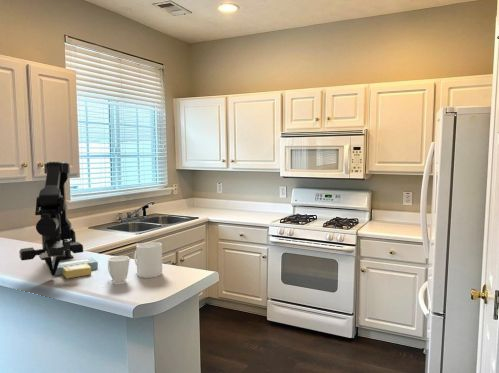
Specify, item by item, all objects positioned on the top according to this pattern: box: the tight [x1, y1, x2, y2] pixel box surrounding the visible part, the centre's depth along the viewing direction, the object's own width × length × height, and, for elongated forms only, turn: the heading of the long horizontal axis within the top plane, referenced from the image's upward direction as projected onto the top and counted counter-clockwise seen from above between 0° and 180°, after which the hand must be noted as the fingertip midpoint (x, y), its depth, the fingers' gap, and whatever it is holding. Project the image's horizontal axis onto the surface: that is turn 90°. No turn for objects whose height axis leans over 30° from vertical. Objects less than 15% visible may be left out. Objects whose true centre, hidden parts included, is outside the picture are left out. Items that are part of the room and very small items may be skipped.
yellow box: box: [62, 264, 92, 279], centre depth 136 cm, size 6×8×3 cm
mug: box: [133, 241, 163, 279], centre depth 137 cm, size 9×12×11 cm
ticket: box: [52, 257, 99, 276], centre depth 143 cm, size 8×14×3 cm, turn 126°
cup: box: [107, 255, 131, 285], centre depth 129 cm, size 7×10×8 cm
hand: (53, 275), depth 132 cm, fingers closed
